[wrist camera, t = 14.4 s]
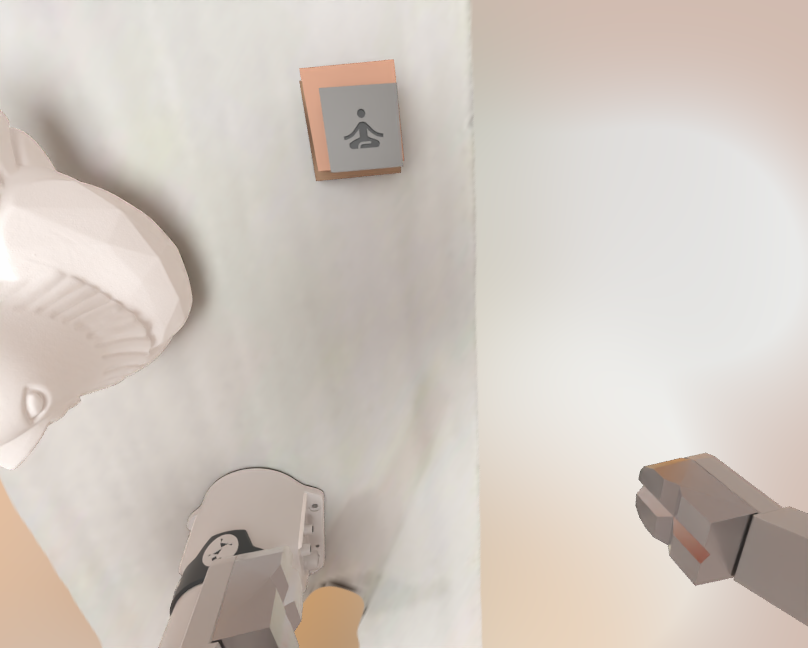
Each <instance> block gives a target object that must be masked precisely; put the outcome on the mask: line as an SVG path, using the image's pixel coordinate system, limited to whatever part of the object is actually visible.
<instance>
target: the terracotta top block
mask: <svg viewBox="0 0 808 648" xmlns="http://www.w3.org/2000/svg"><path fill="white" fill-rule="evenodd" d="M299 69H300V75H301V80H302V85H303V91H304V96H305V102H306V107H307V113H308V118H309V123H310V129H311V134H312V140H313V145H314V150H315V156H316V161H317V167H318V171H322V172H323V171H331V169H330V162H329V155H328V148H327V142H326V135H325V128H324V121H323V114H322V107H321V101H320V94H319V88H326V87H341V86H355V85H370V84H384V83H396V76H395V66H394V59H393V60H382V61H372V62H362V63H351V64H341V65H330V66H320V67H310V68H299ZM398 108H399V105H398ZM399 121H400V115H399ZM400 134H401V125H400ZM401 146H402V159H403V161H404V154H403V144H402V134H401Z"/></svg>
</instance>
